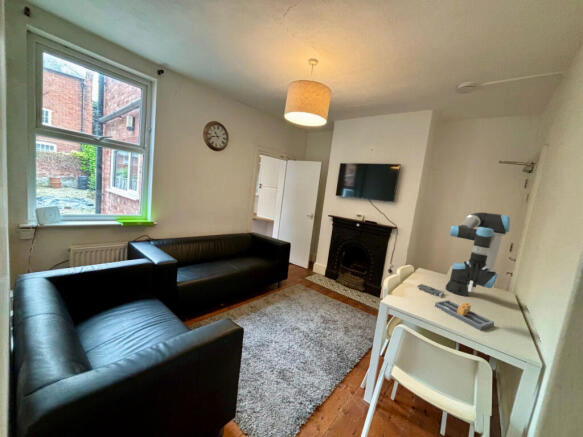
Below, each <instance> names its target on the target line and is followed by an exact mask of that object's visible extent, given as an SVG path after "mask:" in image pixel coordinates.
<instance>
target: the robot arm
mask: <svg viewBox="0 0 583 437" xmlns="http://www.w3.org/2000/svg"><path fill="white" fill-rule="evenodd" d="M510 229H511V217H510V215H505V214H498V213H491V212H475V213H471V214H468V215H467V216H465V218H464V221H463V222H461V223H460V224H459V225H452V226H451V227H450V230H449V235H450V236H451V237H454V238H460V239H464V240H469V241H473V245H472V250H471V251H472V252H471V254H470V257H469V259H468V260H467V261H464V262H455V263H453V265H452V268H451V273H450V277H449V281H447V283H446V285H445V287H444V289H445V290H446V291H447V292H448V293H452V294H454V295H458V296H462V297H469V293H472V292H474V291H475V290H474V289H475V288H477V286H481V287H482V288H488V289H492V288H493V287H494V285H495V283H496V281H497V279H498V276H499V274H498V273H497V270H496V269H495V265H496V263H497V257H498V254H499V249H500V246H501V242H502V239H503V238H502V237H503V236H506V234H507V233H509V232H510Z"/></svg>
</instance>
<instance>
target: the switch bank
mask: <svg viewBox="0 0 583 437" xmlns="http://www.w3.org/2000/svg"><path fill="white" fill-rule="evenodd" d="M458 306H460V305H459V304H457V303H454V302H453V301H451V300H449V299H447V300H441V301H436V302H435V304H434V307H435V308H436V307H437V308H436V309H438V308H439V310H440V309H441V310H440V311H442V312H444V313H446V314H447V315H449V316H452V317H454V318H456V319H457V320H459V321H462V322H463V323H465V324H467V325H469V326H471V327H473V328H475V329H477V330H478V331H483V330H486V329H491V328H493V327H494V324H495V321H493V320H491V319H489V318H486V317H484V316H482V315H480V314H478V313H476V312H474V311H473V310H470V312H467V314H466V315H464V316H462V315H460V314H458V313H457V310H458Z"/></svg>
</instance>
